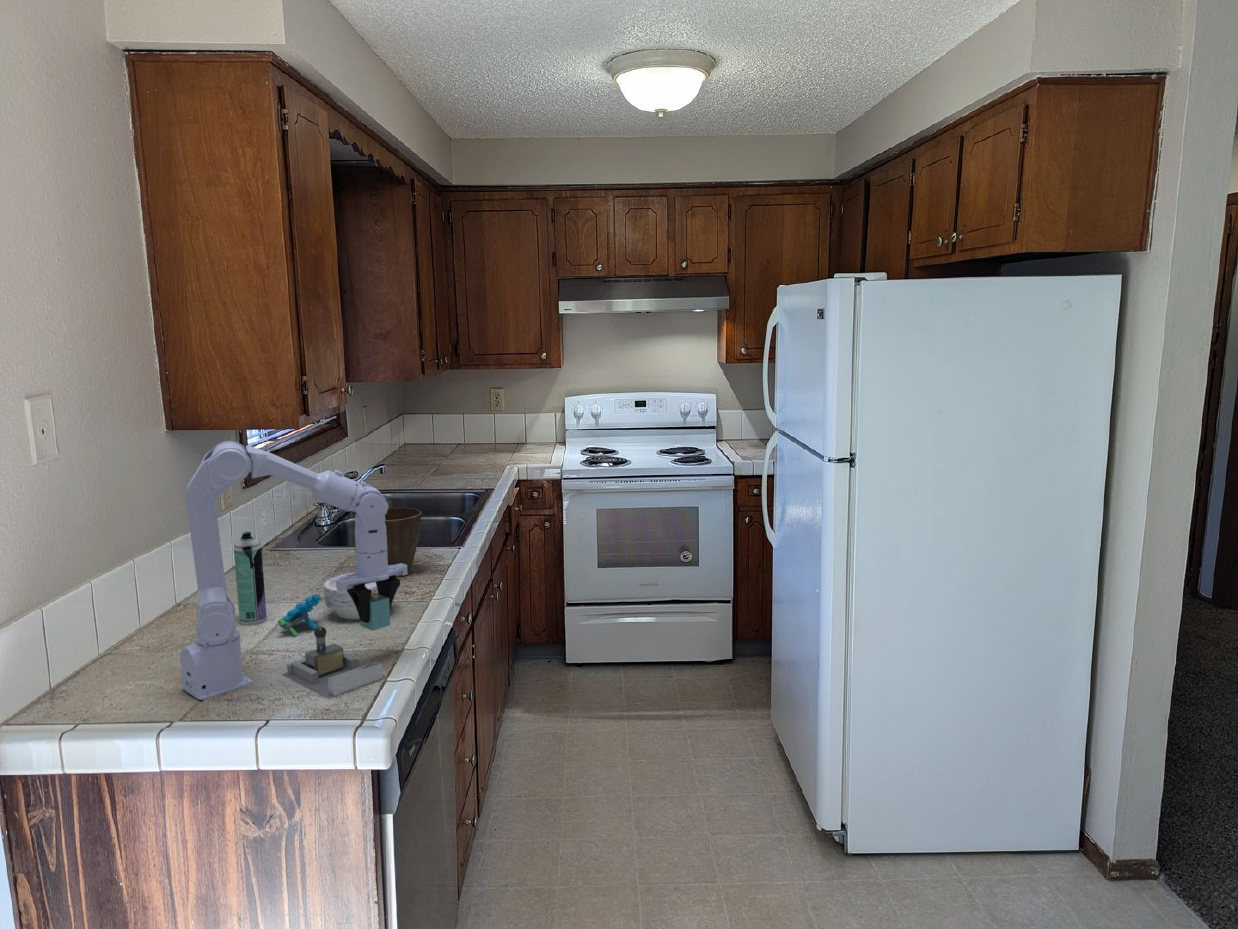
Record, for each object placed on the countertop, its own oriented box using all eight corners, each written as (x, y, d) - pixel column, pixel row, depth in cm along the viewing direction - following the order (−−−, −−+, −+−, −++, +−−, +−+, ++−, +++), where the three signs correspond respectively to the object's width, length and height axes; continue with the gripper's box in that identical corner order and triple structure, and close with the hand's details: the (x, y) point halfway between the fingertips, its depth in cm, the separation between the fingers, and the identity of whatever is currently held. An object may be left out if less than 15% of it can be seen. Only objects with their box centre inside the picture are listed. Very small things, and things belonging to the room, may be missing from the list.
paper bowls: (347, 600, 199) (345, 568, 197) (407, 604, 196) (406, 571, 194) (311, 622, 184) (309, 587, 183) (376, 627, 181) (374, 592, 180)
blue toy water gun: (305, 610, 187) (324, 585, 182) (322, 630, 187) (341, 605, 181) (266, 632, 178) (284, 607, 173) (283, 653, 177) (302, 629, 172)
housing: (372, 630, 160) (370, 599, 159) (360, 626, 163) (358, 594, 162) (390, 625, 163) (388, 593, 162) (378, 620, 166) (376, 589, 165)
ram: (316, 678, 154) (313, 635, 153) (304, 672, 157) (301, 630, 155) (345, 668, 159) (342, 626, 157) (333, 662, 161) (331, 621, 160)
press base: (328, 700, 146) (327, 682, 146) (281, 676, 156) (280, 659, 156) (387, 678, 155) (386, 661, 155) (339, 656, 165) (338, 640, 165)
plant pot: (363, 584, 211) (359, 521, 208) (366, 567, 225) (363, 509, 223) (424, 579, 214) (421, 518, 212) (423, 563, 229) (421, 506, 226)
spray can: (271, 620, 185) (264, 532, 182) (246, 627, 181) (239, 536, 178) (260, 614, 189) (253, 528, 186) (235, 621, 185) (228, 532, 182)
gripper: (349, 562, 152) (353, 633, 155) (415, 545, 163) (418, 612, 166) (328, 555, 157) (332, 624, 159) (394, 540, 168) (397, 605, 170)
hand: (374, 618), depth 163 cm, fingers closed on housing, 4 cm apart
